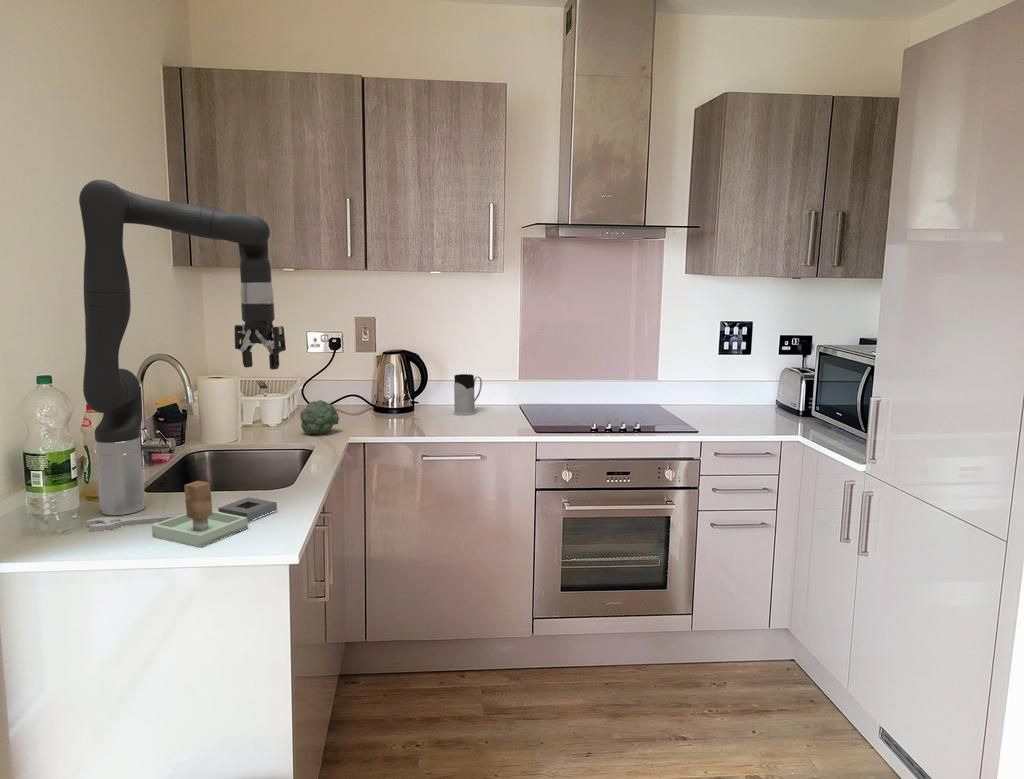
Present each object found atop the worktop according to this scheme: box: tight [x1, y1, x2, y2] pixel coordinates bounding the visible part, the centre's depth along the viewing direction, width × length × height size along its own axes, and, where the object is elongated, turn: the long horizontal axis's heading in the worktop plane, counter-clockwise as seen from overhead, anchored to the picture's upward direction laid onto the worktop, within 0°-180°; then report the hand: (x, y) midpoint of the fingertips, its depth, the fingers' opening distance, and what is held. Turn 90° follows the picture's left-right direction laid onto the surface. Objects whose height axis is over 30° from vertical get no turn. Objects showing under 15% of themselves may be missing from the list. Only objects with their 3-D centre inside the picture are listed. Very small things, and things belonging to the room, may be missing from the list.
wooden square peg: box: [184, 480, 213, 531], centre depth 162 cm, size 4×4×10 cm
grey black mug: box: [453, 373, 483, 417], centre depth 295 cm, size 9×14×15 cm, turn 140°
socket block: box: [217, 496, 278, 523], centre depth 174 cm, size 9×9×2 cm
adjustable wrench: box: [85, 511, 187, 532], centre depth 169 cm, size 25×6×2 cm, turn 105°
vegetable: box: [299, 399, 340, 436], centre depth 260 cm, size 12×13×15 cm
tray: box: [151, 510, 249, 548], centre depth 162 cm, size 15×13×2 cm
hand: (261, 368), depth 184 cm, fingers open, 8 cm apart
